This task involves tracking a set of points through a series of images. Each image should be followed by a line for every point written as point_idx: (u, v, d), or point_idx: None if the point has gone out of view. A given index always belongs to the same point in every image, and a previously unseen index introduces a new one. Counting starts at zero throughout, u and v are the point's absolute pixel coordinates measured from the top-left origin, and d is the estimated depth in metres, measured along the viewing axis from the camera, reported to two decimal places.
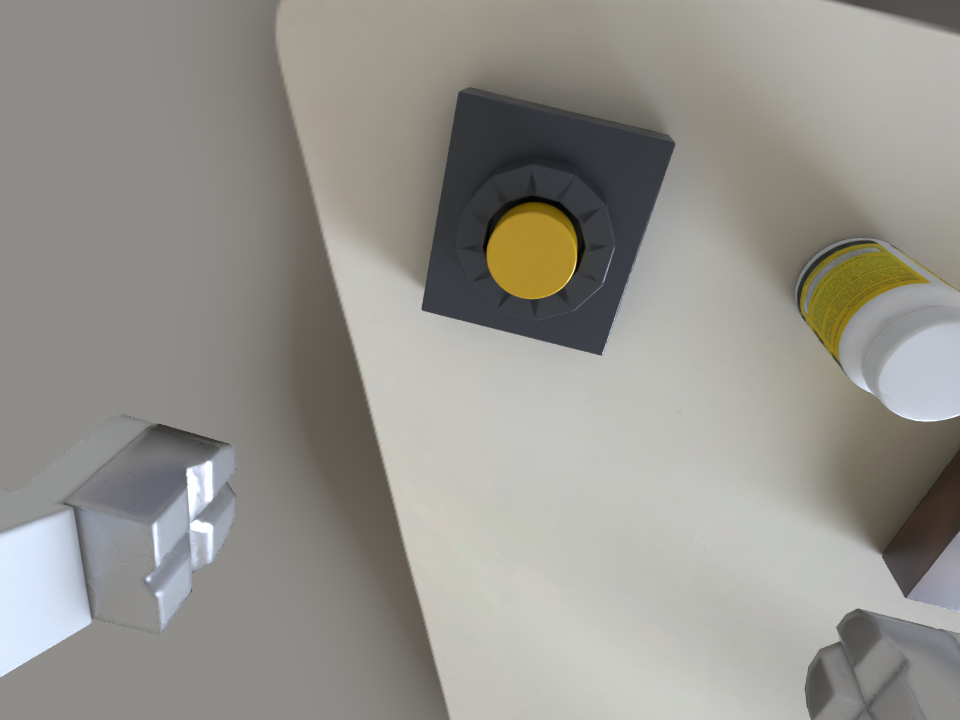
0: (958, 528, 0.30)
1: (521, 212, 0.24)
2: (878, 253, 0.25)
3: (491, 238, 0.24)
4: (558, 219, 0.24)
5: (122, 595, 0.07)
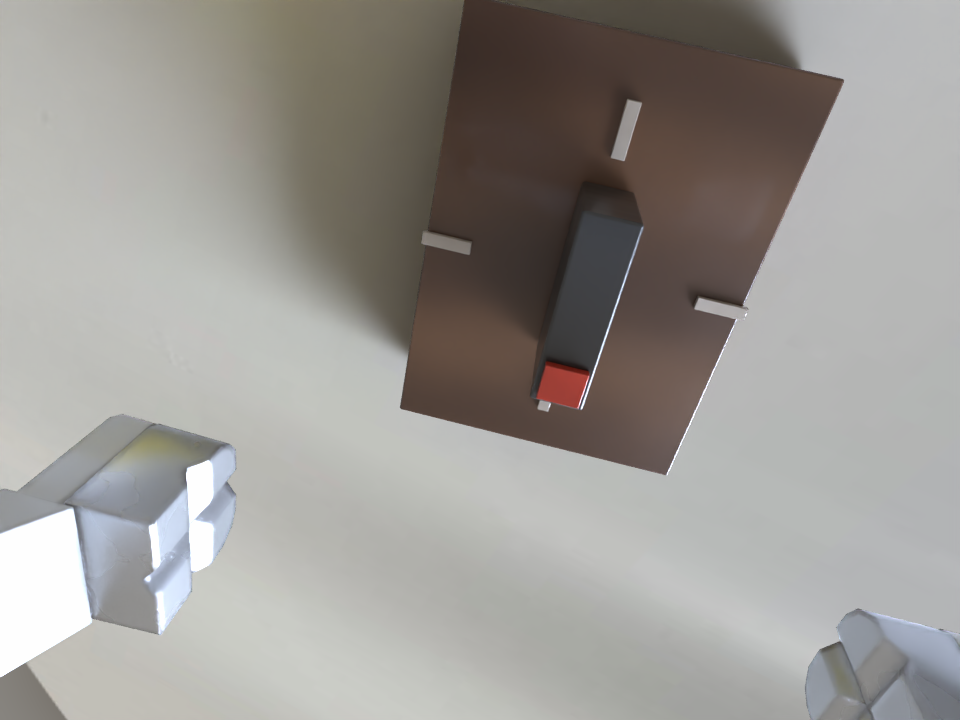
0: (422, 268, 0.18)
1: None
2: None
3: None
4: None
5: (122, 595, 0.07)
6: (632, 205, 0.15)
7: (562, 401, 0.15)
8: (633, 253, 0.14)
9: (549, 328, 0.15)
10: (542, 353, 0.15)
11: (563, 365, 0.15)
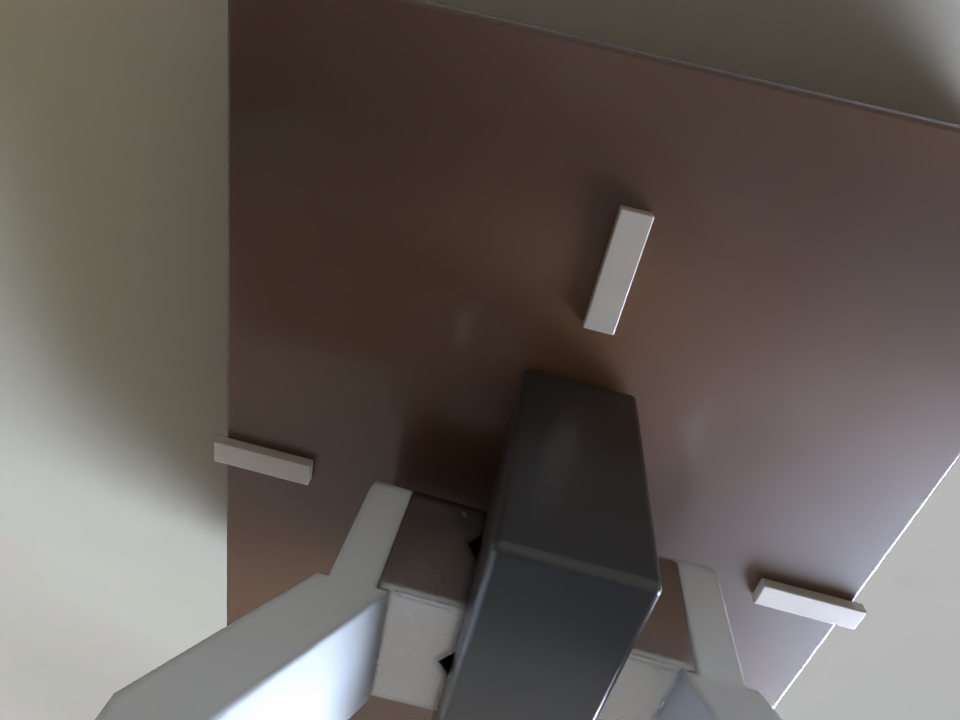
0: (230, 494, 0.09)
1: None
2: None
3: None
4: None
5: (410, 674, 0.07)
6: (631, 465, 0.06)
7: None
8: (633, 642, 0.05)
9: None
10: None
11: None
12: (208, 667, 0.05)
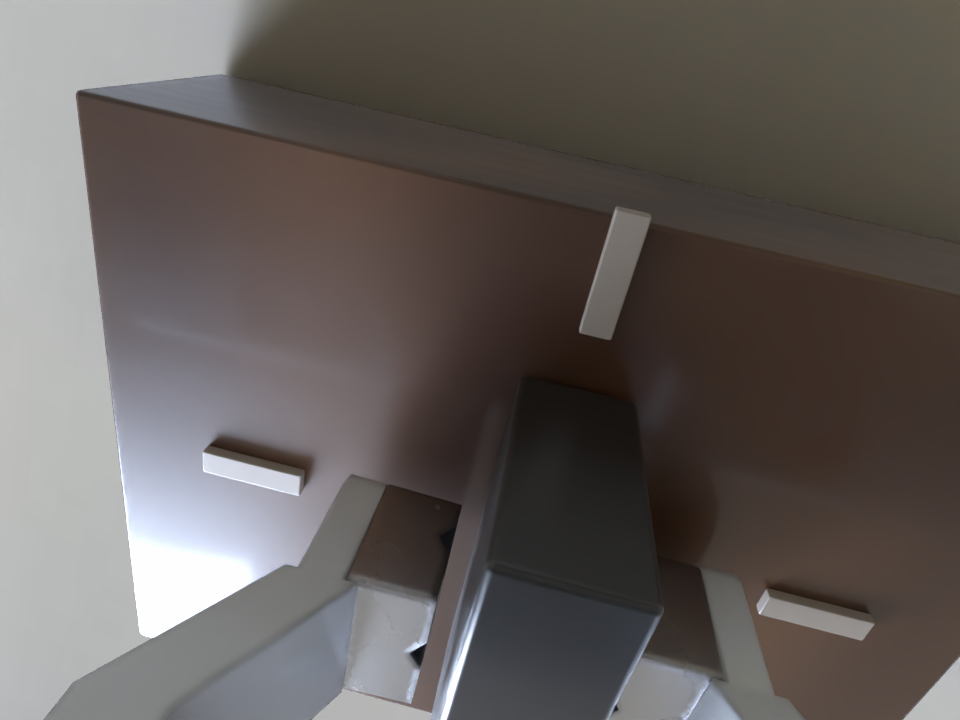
0: (534, 195, 0.06)
1: None
2: None
3: None
4: None
5: (382, 666, 0.07)
6: (631, 477, 0.06)
7: None
8: (633, 665, 0.05)
9: None
10: None
11: None
12: (171, 656, 0.05)
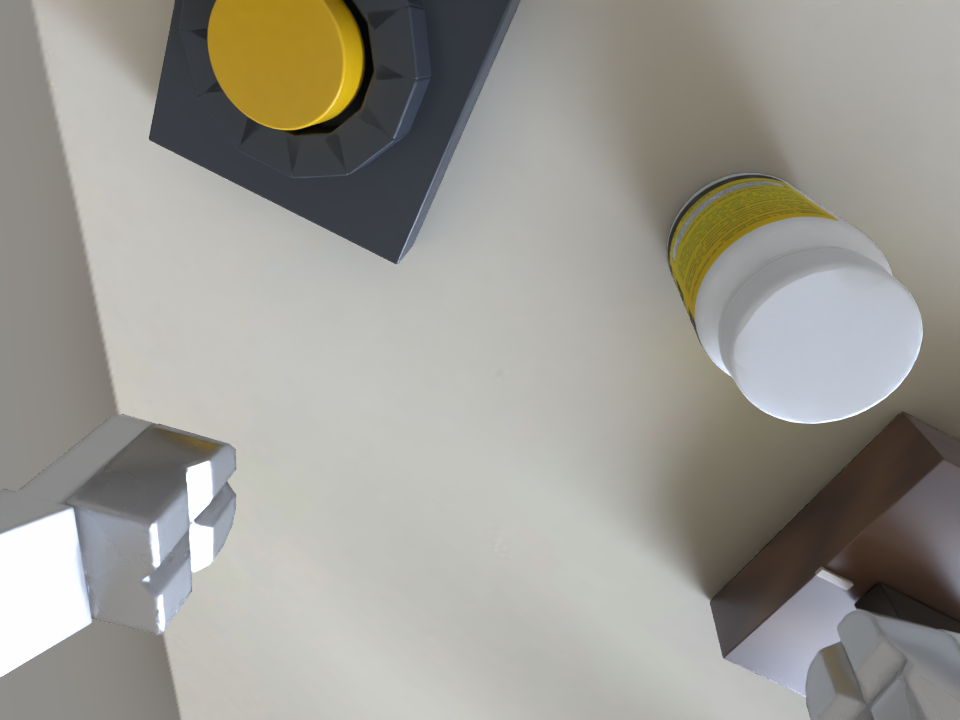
0: (801, 584, 0.24)
1: None
2: (781, 187, 0.18)
3: (215, 5, 0.15)
4: None
5: (122, 595, 0.07)
6: (893, 616, 0.22)
7: None
8: None
9: None
10: None
11: None
12: None
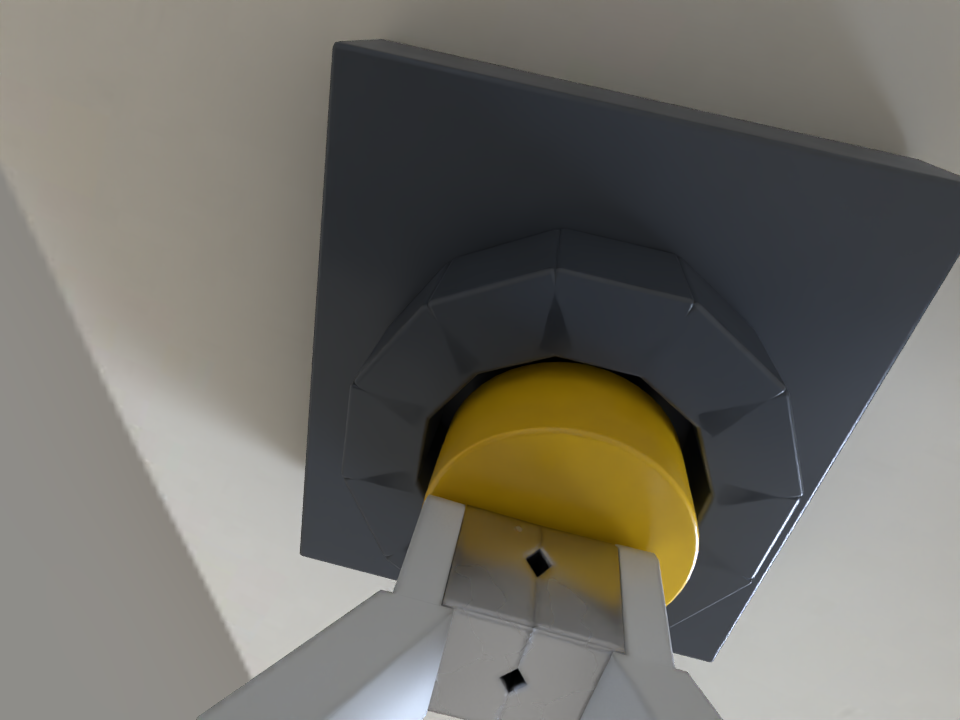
0: None
1: (524, 423, 0.07)
2: None
3: (432, 491, 0.08)
4: (644, 446, 0.07)
5: (469, 690, 0.07)
6: None
7: None
8: None
9: None
10: None
11: None
12: (287, 689, 0.05)
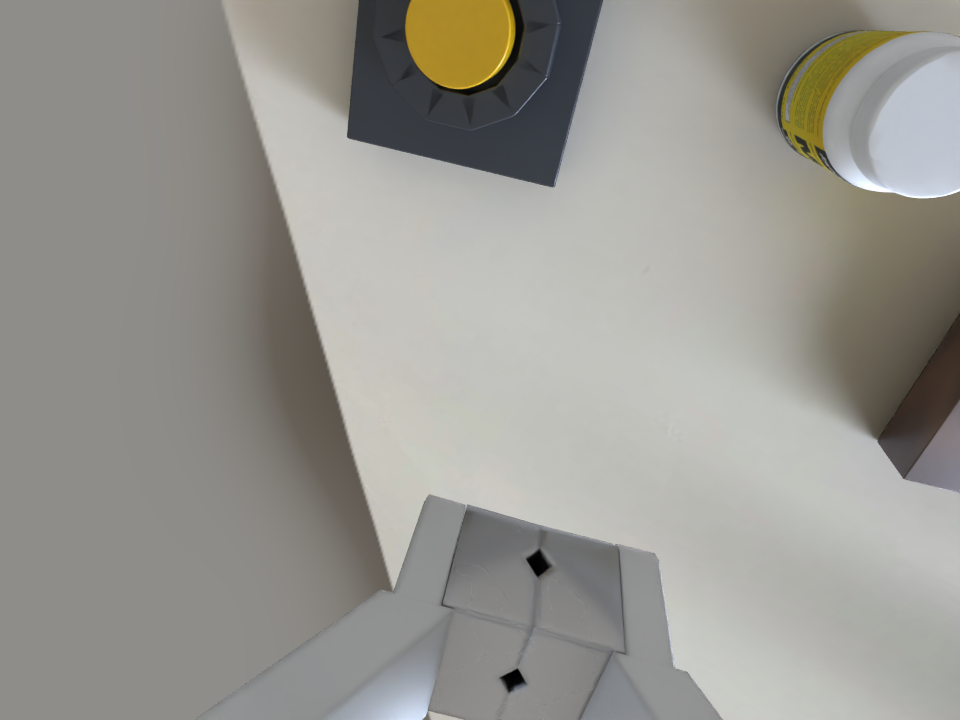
0: None
1: None
2: (871, 31, 0.21)
3: (409, 7, 0.21)
4: None
5: (469, 690, 0.07)
6: None
7: None
8: None
9: None
10: None
11: None
12: (287, 688, 0.05)
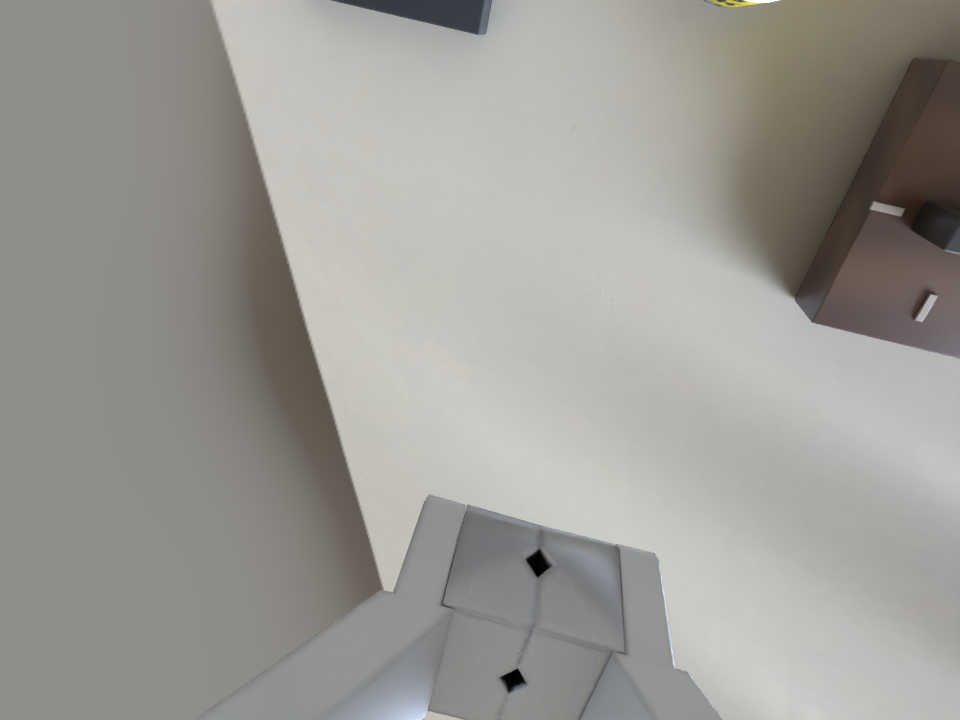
0: (861, 225, 0.28)
1: None
2: None
3: None
4: None
5: (469, 690, 0.07)
6: (941, 212, 0.26)
7: None
8: None
9: None
10: None
11: None
12: (287, 688, 0.05)
